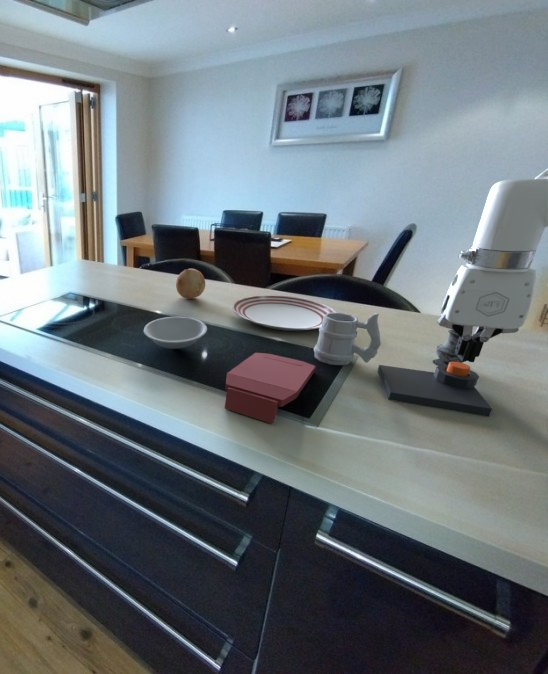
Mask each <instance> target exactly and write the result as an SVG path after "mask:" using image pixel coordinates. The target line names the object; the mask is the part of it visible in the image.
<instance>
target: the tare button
mask: <svg viewBox="0 0 548 674" xmlns="http://www.w3.org/2000/svg"><path fill="white" fill-rule="evenodd" d="M469 370H471V366H470V365H469V364H467V363H465V362H462V363H460V362H450V363H449V365H448V368H447V370H446V372H448V373H450V374H454V375H457V376H468V373H469Z"/></svg>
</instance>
